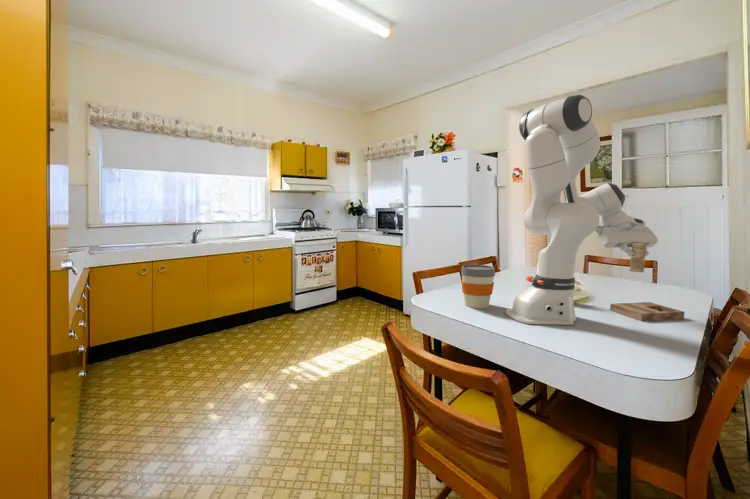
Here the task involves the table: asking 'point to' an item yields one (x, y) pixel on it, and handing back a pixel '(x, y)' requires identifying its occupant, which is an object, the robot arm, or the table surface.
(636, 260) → the pin
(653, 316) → the pin board
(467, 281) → the reusable coffee cup
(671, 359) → the table surface
